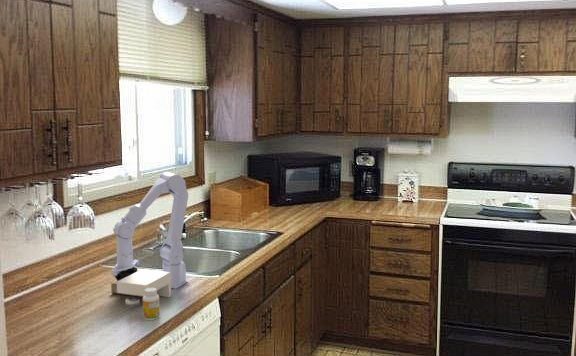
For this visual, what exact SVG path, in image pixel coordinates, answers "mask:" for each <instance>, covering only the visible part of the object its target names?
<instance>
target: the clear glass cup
mask: <svg viewBox="0 0 576 356" xmlns="http://www.w3.org/2000/svg"><path fill="white" fill-rule="evenodd" d="M124 301H125V306H126V307H137V306H139V305H140V304H141V297H140V296H128V297H127V298H125V300H124Z"/></svg>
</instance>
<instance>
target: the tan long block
mask: <svg viewBox="0 0 576 356" xmlns="http://www.w3.org/2000/svg"><path fill="white" fill-rule="evenodd" d="M110 287H111V294H116V295H117V294H119V295H126V296H131V297H139V298H141V297H142V298H143V297H144V296H138V295H131V294H123V293H116V290H117V280H116V281H113V282H111V286H110Z"/></svg>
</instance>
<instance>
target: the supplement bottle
mask: <svg viewBox="0 0 576 356" xmlns="http://www.w3.org/2000/svg"><path fill="white" fill-rule="evenodd" d="M142 313H143V314H142V315H143V317H142V318H143V319H144V320H146V321H154V320H158V319H159V318H160V316H161V314H160V313H161V308H160V296H158V295H157V289H156V288H147V289H145V296H144V297H142Z"/></svg>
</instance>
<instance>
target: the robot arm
mask: <svg viewBox="0 0 576 356" xmlns="http://www.w3.org/2000/svg"><path fill="white" fill-rule="evenodd" d="M168 193H169V194H171V196H172V197H173V202H172V208H171V213H170V219H169V224H168V230H167V234H166V235H167V236H166V238H165V239H164V240H163V244H162V246H161V247H160V249H159V256H160V258H161V259H162V271H165V272H171V289H178V288H180V287H181V286H183V285H185V284H186V283H188V282H189V280H187V275H186V274H187V272H186V271H187V269H186V267H187V266H186V263H185V262H184V261H183V259H184V256H185V254H184V249H183V248H184V245H183V242H182V234H183V229H184V223H185V218H186V217H185V216H186V212H187V207H188V200H189V192H188V190H187V185H186V180H185V179H184V178H183V176H181V175H180V174H177V173H171V172H170V171H165V172H162V173H161V174H160V175H159V177H158V178H157V179H156V180H155V182H154V184H153V185H152V186H151V188H150V189H149V190H148V192H147V193H146V195H144V197H143V198H142V200H141V201H140V202H139V203H138V204H134V205H132V206H130V207H129V208H128V210H129V211H128V212H127V213H126V214H125V215H124V216H123V217H121V218H120V221H117V222H116V223H115V225H114V226H113V229H112V231H113V233H114V234H115V237H116V239H115V243H116V245H115V246H116V264H115V265H114V267H113V268H112V269H111V270H110V275H111V276H114V278H115V279H116V281H119V280H121V279H123V278H125V277H127V276H129V275H131V274H133V273H135V272H138V268H137V267H135V266H139V264H140V261H139V259H134V253H133V251H134V250H133V247H134V246H133V235H134V234H135V231H136V230H135V229H136V228H137V226H138V225H139V224H140V223H141V222H142V221H143V219H145V217H146V215H147V210H148V209H149V207H150V206H151V205H152V204H153V203H154V202H155V201H156V200H157V199H158V198H159V196H160V195H163V194H168Z"/></svg>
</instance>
